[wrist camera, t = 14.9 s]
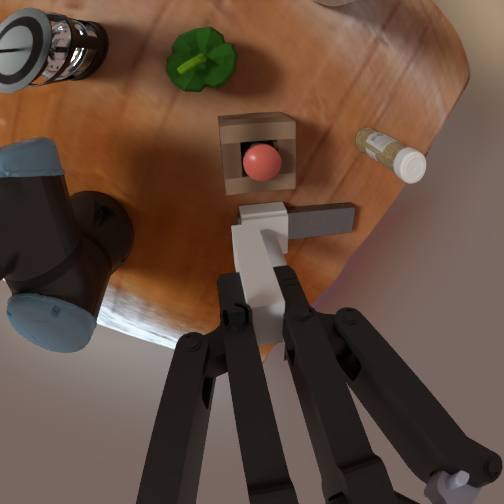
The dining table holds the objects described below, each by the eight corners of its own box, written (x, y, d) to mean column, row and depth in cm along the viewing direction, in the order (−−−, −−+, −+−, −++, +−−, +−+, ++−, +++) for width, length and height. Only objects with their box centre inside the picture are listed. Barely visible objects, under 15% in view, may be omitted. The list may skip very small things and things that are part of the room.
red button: (238, 162, 41) (245, 182, 34) (236, 132, 38) (242, 147, 32) (269, 159, 41) (281, 179, 35) (268, 130, 38) (281, 144, 32)
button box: (223, 175, 44) (226, 196, 37) (217, 116, 38) (219, 126, 32) (281, 169, 44) (295, 190, 38) (280, 111, 39) (295, 121, 32)
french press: (115, 15, 26) (30, -21, 8) (112, 74, 32) (21, 90, 13) (45, 31, 24) (-61, 33, 6) (44, 87, 30) (-62, 124, 11)
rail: (238, 238, 51) (240, 245, 49) (236, 213, 48) (237, 219, 46) (347, 226, 52) (351, 232, 51) (350, 202, 49) (355, 207, 48)
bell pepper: (227, 29, 31) (233, 16, 23) (237, 82, 36) (246, 85, 28) (166, 42, 31) (153, 33, 22) (177, 94, 35) (168, 101, 27)
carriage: (242, 246, 51) (256, 315, 38) (239, 206, 47) (253, 269, 34) (282, 241, 52) (307, 307, 39) (282, 201, 47) (312, 261, 34)
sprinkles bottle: (355, 154, 44) (400, 187, 33) (353, 127, 41) (401, 153, 31) (379, 150, 44) (426, 181, 33) (378, 125, 41) (428, 150, 30)
